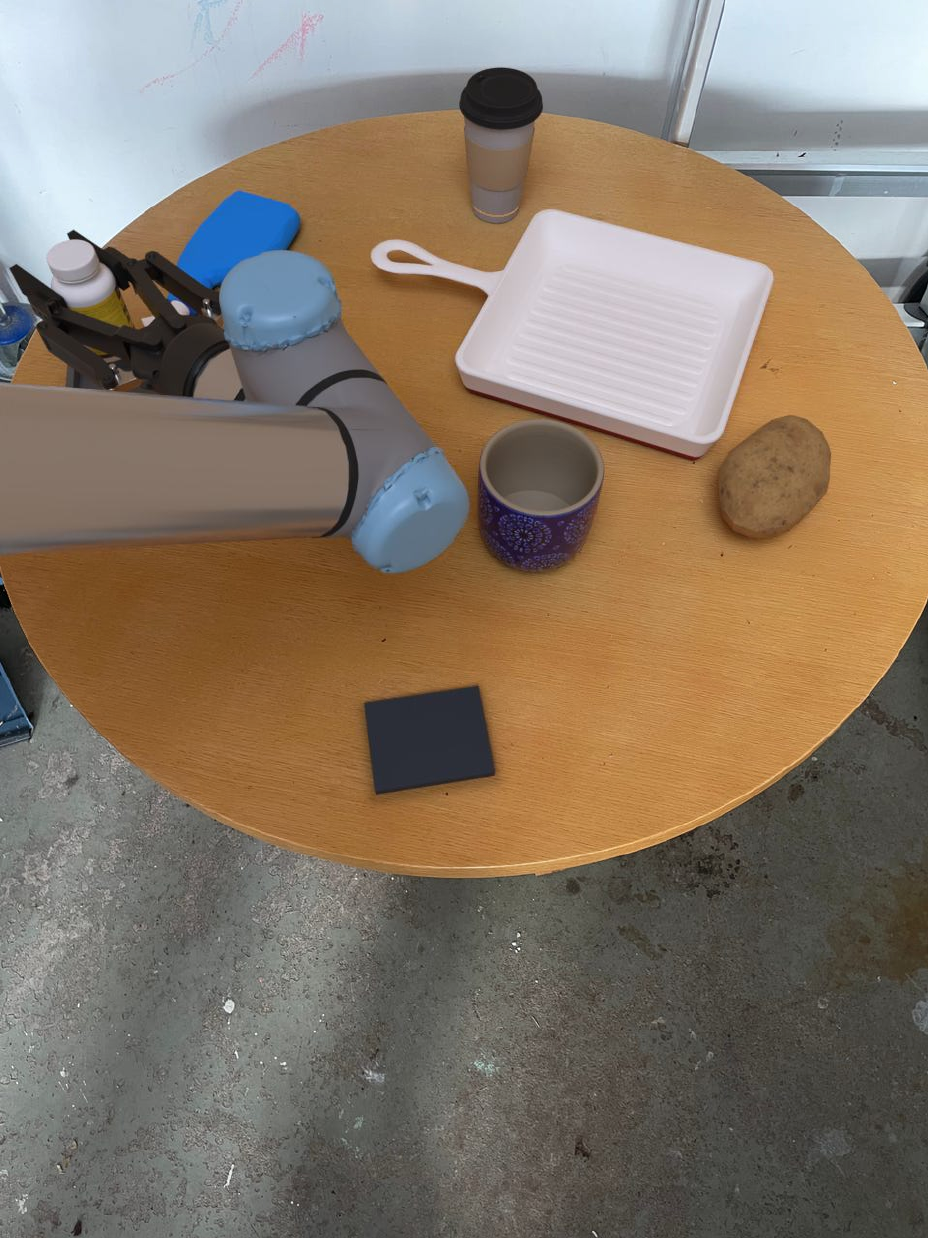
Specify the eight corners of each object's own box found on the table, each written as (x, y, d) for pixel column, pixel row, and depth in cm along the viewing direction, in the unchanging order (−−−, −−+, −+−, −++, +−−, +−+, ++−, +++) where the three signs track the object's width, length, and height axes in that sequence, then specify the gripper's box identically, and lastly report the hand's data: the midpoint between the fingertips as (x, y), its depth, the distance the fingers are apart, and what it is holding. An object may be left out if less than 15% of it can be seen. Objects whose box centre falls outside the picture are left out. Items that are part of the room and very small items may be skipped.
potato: (680, 531, 85) (700, 479, 78) (745, 442, 90) (769, 386, 84) (770, 581, 82) (800, 532, 75) (832, 486, 88) (864, 432, 81)
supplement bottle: (150, 345, 81) (114, 256, 73) (99, 373, 79) (56, 285, 71) (120, 315, 83) (82, 224, 75) (69, 341, 81) (24, 252, 73)
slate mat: (375, 795, 71) (375, 791, 71) (364, 707, 75) (363, 702, 74) (494, 776, 72) (495, 771, 71) (478, 689, 76) (478, 685, 75)
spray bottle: (227, 184, 106) (115, 315, 95) (307, 206, 104) (202, 342, 93) (233, 205, 109) (125, 335, 98) (311, 227, 107) (209, 363, 96)
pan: (706, 477, 88) (718, 446, 84) (321, 359, 96) (315, 325, 92) (765, 299, 101) (778, 265, 97) (422, 208, 109) (421, 172, 105)
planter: (599, 579, 82) (618, 507, 72) (485, 593, 81) (490, 523, 71) (574, 488, 87) (589, 410, 78) (467, 500, 86) (469, 423, 77)
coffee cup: (464, 182, 111) (465, 59, 98) (537, 189, 111) (548, 66, 98) (453, 229, 107) (453, 107, 94) (529, 236, 106) (540, 115, 93)
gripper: (150, 483, 70) (-21, 349, 77) (312, 358, 77) (142, 246, 84) (119, 419, 63) (-64, 279, 71) (299, 289, 70) (116, 173, 78)
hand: (48, 261), depth 77 cm, fingers closed on supplement bottle, 5 cm apart
